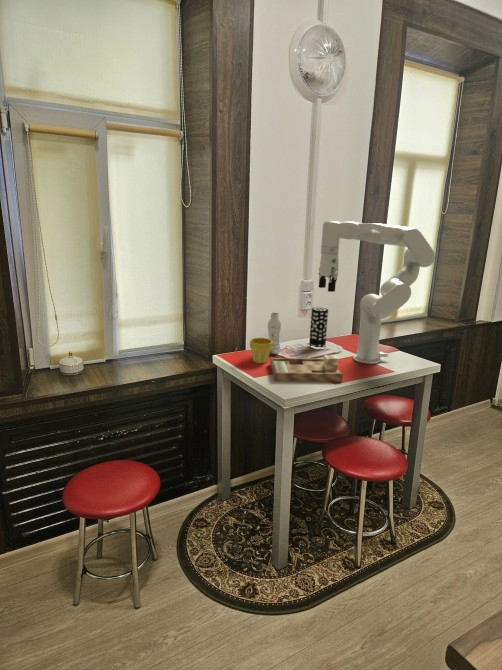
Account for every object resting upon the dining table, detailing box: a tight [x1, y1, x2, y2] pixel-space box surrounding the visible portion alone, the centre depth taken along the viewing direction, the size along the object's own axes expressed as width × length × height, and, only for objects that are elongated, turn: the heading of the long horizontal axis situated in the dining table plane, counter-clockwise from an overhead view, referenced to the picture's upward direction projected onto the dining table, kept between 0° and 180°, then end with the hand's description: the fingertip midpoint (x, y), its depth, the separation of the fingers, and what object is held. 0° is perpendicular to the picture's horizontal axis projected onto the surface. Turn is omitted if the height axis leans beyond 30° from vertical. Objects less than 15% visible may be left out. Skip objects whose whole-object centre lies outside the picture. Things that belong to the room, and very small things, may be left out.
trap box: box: [269, 357, 344, 382], centre depth 189 cm, size 28×19×3 cm
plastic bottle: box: [267, 312, 282, 355], centre depth 211 cm, size 6×7×20 cm
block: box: [323, 354, 339, 370], centre depth 188 cm, size 5×5×5 cm
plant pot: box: [249, 337, 273, 364], centre depth 201 cm, size 10×10×10 cm
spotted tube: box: [308, 307, 329, 348], centre depth 223 cm, size 8×8×20 cm
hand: (326, 289), depth 195 cm, fingers open, 9 cm apart
